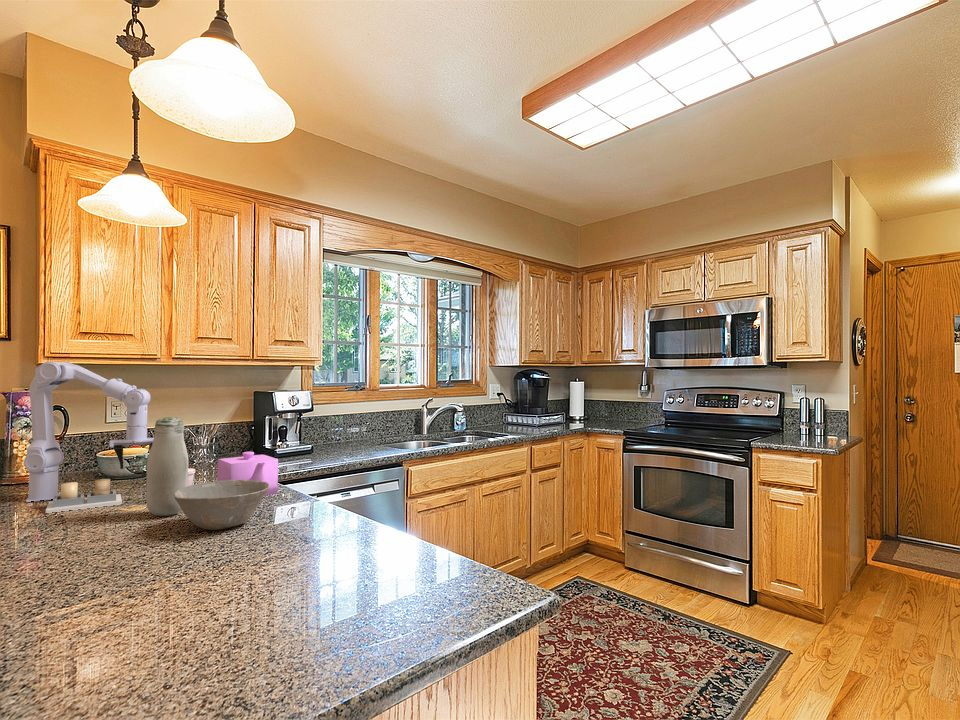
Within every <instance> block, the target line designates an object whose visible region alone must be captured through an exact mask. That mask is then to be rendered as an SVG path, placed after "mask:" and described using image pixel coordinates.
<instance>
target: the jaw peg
mask: <svg viewBox="0 0 960 720" xmlns="http://www.w3.org/2000/svg"><path fill="white" fill-rule="evenodd" d="M110 490H111V478H101V479H95V480H94V485H93V492H94V496H98V495H107V494H110Z"/></svg>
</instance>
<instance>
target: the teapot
mask: <svg viewBox="0 0 960 720" xmlns="http://www.w3.org/2000/svg"><path fill="white" fill-rule="evenodd" d="M224 480H248V481H249V480H256V481H262V482H267V483H268V484H269V485H270V486H269V489H268V490H267V492H266V493H265V495H264V496H268V495H276V494H278V493H279V491H278V485H279V459H278V458H275V457H272V456H269V455H267V454H255V452H254V451H244V452H242V456H235V457H225V458H218V459H217V481H224Z"/></svg>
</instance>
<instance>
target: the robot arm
mask: <svg viewBox="0 0 960 720" xmlns="http://www.w3.org/2000/svg"><path fill="white" fill-rule="evenodd" d="M34 372H35V375H34V376H33V379H32V380H31V383H30V385H29V400H30V416H31V417H30V418H31V420H30V421H31V433H32V442H31V443H30V444H29V445H28V447H27V449H26V456H25V457H24V460H23V464H24V468H25V469H26V470H27V471H28V475H29V476H28V496H27V498H26V499H25V503H32V502H31V501H34V502H41V501H40V500H44V501H51V499H54V496H60V495H61V491H59V471H60V470H59V468H60V465H61V464H62V463H63V462H64V458H65V455H64V453H63V451H62V450H61V446H60V445H61V444H60V443H59V442H58V441H57V440H56V438H55V436H56V435H55V421H54V405H53V391H54V390H55V389H57V388H58V387H59V386H61V385H62V384H65V383H66V382H70V381H72V380H79V381H81V382H84V383H87V384H89V385H91V386H94V387H97V388H98V389H101V390H102V393H103V394H104V395H106V396H109V397H110V398H113V399H115V400H117V401H120V402H122V403H123V404H124V405H125V406H126V436H125V439H115V440H114V439H113V440H109V444H108V445H109V448H113V450H114V452H115V454H116V456H117V460H118V461H119V465H120V466H119V467H120V470H123V469H124V447H126V446H127V447H129V446H143V445H148V453H149V452H150V449H151V447H152V444H153V439H154V437H148V408H149V407H148V404H149V403H150V402H151V399H152V396H151V393H150V392H149V391H147V390H146V389H145V388H138V387H137V386H136V385H133V384H132V385H131V384H129V383H126V382H124V381H123V380H124V379H122V378H110V379H107V378H105V377H103V376H101V375H99V374H97V373H95V372H93V371H91V370H89V369H86V368H85V367H83V366H80V365H79V364H74V363H72V362H69V361H64V362H62V361H45V362H43V363H42V364H40V365H39V366H38V367H36V368H35V371H34Z"/></svg>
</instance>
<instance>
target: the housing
mask: <svg viewBox="0 0 960 720" xmlns="http://www.w3.org/2000/svg"><path fill="white" fill-rule="evenodd" d="M78 486H79V483H78V482H77V481H71V482H70V481H68V482H64V483H61V484H60V496H54V499H53V500H52V501H51V500H50V501H48V504H47V506H46V509H45V514H46V513H49V514H53V513H52V512H57V513H62V512H61V511H65V512H70V511H69V510H73V511H79V510H78V509H82V510H88V509H87V508H90V509H96V508H95V507H98V508H104V507H103V506H107V507H113V505H115V506H121V505H120V504H122V505H123V501H122V500H123V499H122V496H121V495H122V494H121V493H118V494H117V491H116V489H110V494H107V495H98V496H94V491H90V492H87V494H86V495H87V497H85V493H84V492H81V493H78V488H79V487H78Z"/></svg>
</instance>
